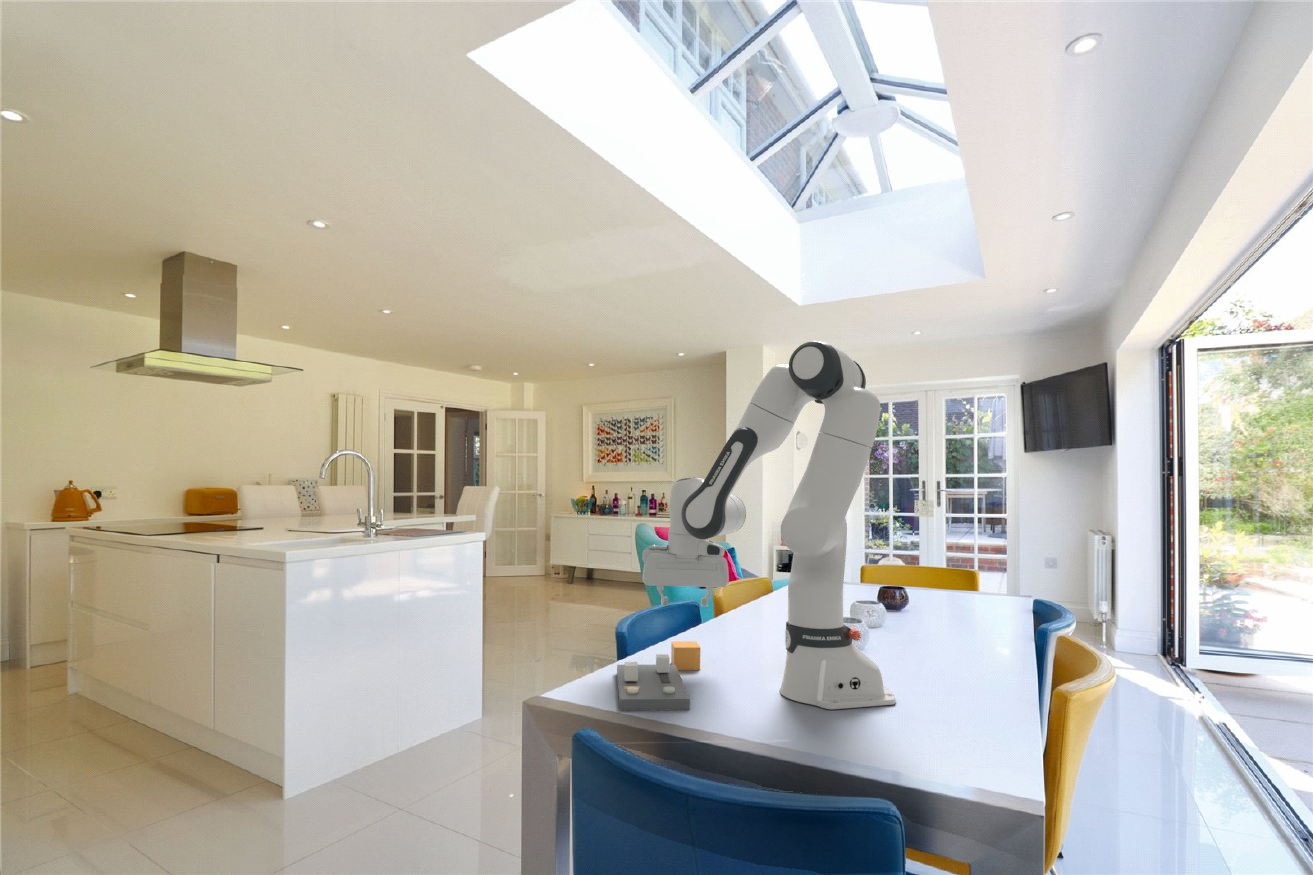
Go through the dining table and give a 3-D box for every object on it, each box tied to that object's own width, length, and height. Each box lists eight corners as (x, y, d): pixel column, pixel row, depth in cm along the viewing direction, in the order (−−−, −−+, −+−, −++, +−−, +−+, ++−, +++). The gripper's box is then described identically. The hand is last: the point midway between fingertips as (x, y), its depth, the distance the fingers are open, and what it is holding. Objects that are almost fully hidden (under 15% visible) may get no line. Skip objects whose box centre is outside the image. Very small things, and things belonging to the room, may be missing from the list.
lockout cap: (696, 662, 155) (696, 641, 155) (700, 669, 149) (700, 647, 149) (671, 663, 154) (671, 641, 155) (673, 670, 148) (674, 647, 149)
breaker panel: (675, 673, 145) (675, 660, 146) (689, 709, 122) (690, 694, 122) (617, 673, 144) (617, 661, 145) (619, 710, 120) (620, 694, 121)
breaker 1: (636, 676, 134) (637, 661, 135) (637, 681, 131) (638, 665, 132) (624, 676, 134) (624, 662, 134) (624, 681, 131) (625, 665, 131)
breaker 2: (667, 668, 141) (668, 654, 141) (669, 672, 138) (669, 658, 138) (655, 668, 141) (656, 654, 141) (656, 672, 138) (657, 658, 138)
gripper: (643, 546, 150) (641, 607, 149) (731, 548, 152) (729, 609, 151) (641, 543, 156) (639, 602, 155) (726, 546, 158) (724, 604, 157)
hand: (684, 605), depth 153 cm, fingers open, 8 cm apart
